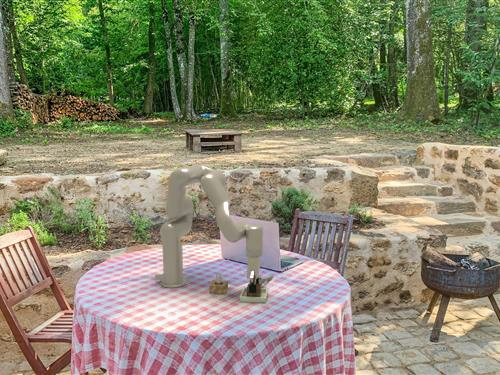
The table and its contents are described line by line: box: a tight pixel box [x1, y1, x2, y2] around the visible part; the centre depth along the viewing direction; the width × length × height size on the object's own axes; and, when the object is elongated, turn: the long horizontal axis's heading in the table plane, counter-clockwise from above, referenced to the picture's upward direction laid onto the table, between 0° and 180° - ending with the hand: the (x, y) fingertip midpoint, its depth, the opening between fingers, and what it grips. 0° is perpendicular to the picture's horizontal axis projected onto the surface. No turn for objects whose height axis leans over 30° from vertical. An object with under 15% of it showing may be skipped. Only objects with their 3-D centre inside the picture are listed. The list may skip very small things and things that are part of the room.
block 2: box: [246, 283, 261, 297], centre depth 225 cm, size 6×6×5 cm
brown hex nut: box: [208, 279, 229, 295], centre depth 233 cm, size 7×7×4 cm
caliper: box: [259, 275, 274, 288], centre depth 243 cm, size 20×1×6 cm, turn 159°
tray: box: [239, 286, 269, 305], centre depth 225 cm, size 12×12×2 cm
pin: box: [215, 273, 222, 285], centre depth 233 cm, size 2×2×8 cm
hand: (254, 288), depth 225 cm, fingers open, 9 cm apart
